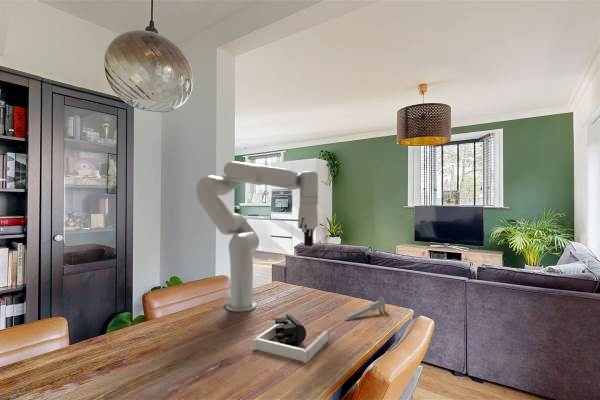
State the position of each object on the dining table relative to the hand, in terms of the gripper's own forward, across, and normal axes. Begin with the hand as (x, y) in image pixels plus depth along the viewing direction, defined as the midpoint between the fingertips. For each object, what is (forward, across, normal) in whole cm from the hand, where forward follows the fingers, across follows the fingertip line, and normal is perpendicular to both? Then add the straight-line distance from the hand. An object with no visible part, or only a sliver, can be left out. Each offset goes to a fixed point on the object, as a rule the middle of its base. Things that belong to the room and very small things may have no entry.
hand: (308, 245), depth 126 cm
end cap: (+27, +27, +6) cm, 39 cm away
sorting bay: (+27, +29, +8) cm, 40 cm away
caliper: (+28, -7, +22) cm, 36 cm away
